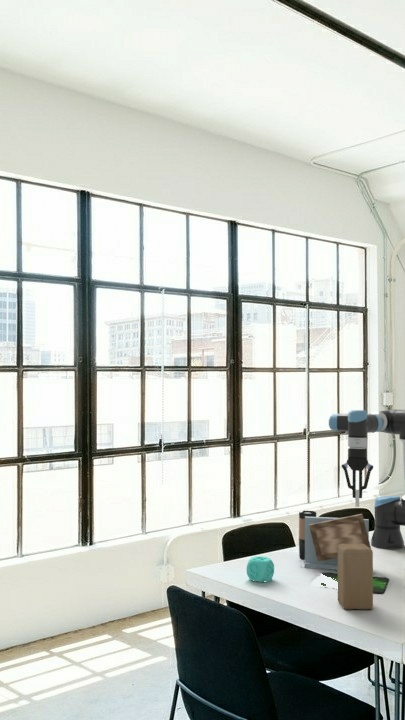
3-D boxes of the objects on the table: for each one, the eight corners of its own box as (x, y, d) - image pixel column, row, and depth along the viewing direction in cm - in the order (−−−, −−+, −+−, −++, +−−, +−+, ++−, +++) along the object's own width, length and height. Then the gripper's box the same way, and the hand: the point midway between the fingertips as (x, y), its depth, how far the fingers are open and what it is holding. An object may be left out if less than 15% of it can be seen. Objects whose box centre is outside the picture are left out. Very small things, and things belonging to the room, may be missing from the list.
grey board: (368, 566, 284) (368, 517, 285) (369, 571, 276) (368, 521, 277) (305, 562, 289) (305, 515, 290) (304, 567, 281) (304, 518, 282)
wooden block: (365, 601, 236) (365, 543, 237) (373, 610, 226) (373, 549, 227) (337, 601, 236) (336, 543, 237) (343, 610, 226) (343, 549, 227)
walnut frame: (371, 550, 276) (362, 513, 277) (371, 551, 274) (362, 514, 275) (318, 560, 280) (309, 524, 281) (317, 561, 278) (309, 525, 279)
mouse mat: (308, 587, 254) (308, 584, 254) (319, 572, 274) (319, 570, 274) (384, 595, 244) (384, 592, 244) (389, 580, 265) (389, 577, 265)
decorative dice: (274, 579, 263) (274, 558, 264) (264, 583, 257) (264, 562, 257) (256, 575, 268) (256, 555, 268) (246, 580, 261) (246, 559, 261)
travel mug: (317, 560, 293) (317, 513, 294) (299, 560, 293) (300, 513, 294) (315, 556, 300) (315, 510, 301) (297, 556, 301) (297, 510, 301)
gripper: (341, 448, 275) (340, 506, 274) (374, 449, 273) (374, 508, 271) (341, 446, 283) (340, 504, 281) (373, 447, 280) (373, 505, 279)
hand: (357, 506), depth 276 cm, fingers closed
